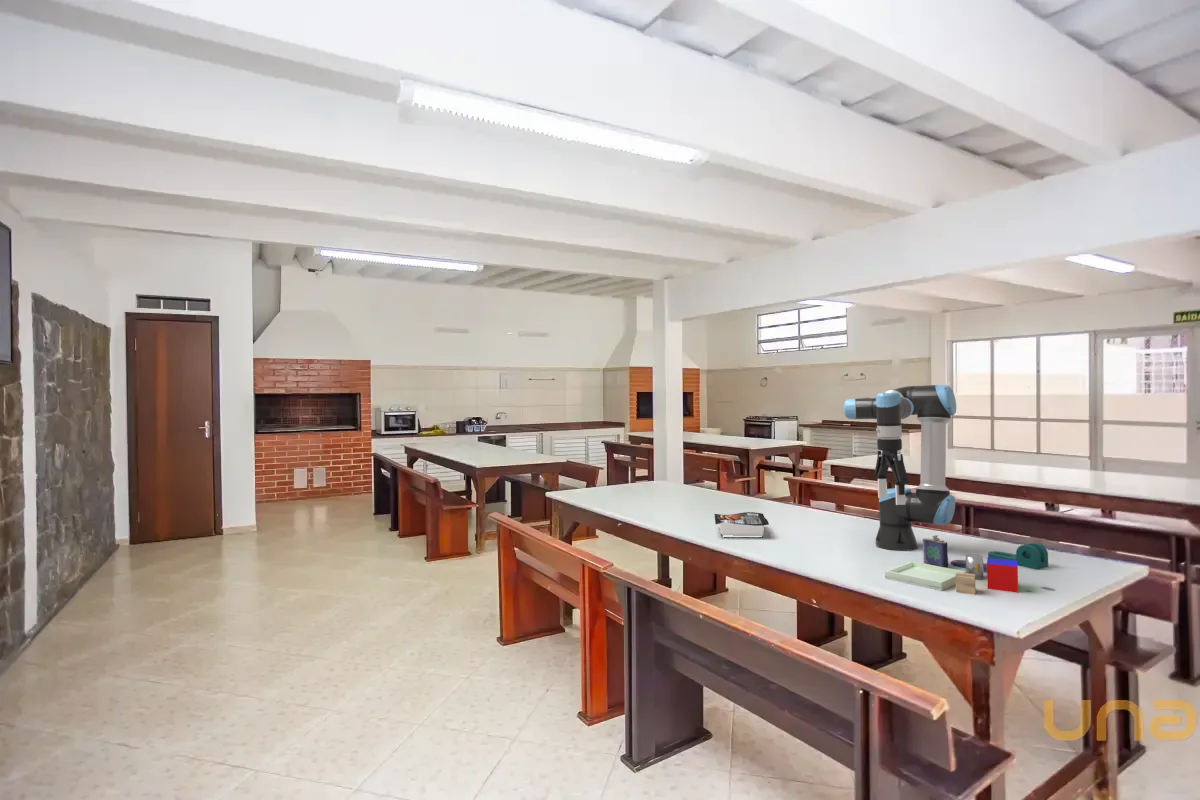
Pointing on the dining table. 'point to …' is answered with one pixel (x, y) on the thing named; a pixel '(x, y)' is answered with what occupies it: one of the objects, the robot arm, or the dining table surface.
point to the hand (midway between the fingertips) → (891, 501)
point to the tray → (923, 575)
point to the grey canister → (975, 566)
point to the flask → (935, 552)
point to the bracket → (1026, 556)
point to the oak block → (965, 583)
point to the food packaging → (742, 524)
